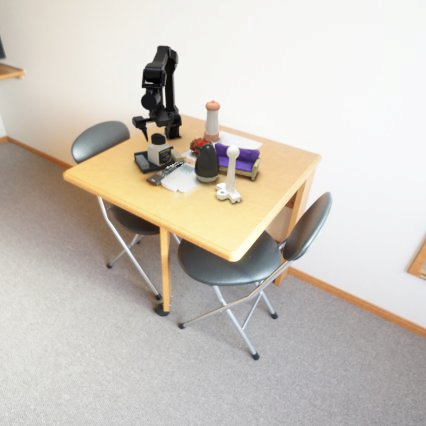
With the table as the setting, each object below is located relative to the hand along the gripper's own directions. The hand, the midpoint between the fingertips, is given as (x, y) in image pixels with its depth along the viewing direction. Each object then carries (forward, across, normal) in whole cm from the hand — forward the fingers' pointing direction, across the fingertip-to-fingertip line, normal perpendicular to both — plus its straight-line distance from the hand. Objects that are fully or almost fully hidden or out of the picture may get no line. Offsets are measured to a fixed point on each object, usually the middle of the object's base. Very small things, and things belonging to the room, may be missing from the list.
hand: (158, 139), depth 131 cm
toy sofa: (+12, +26, -18) cm, 34 cm away
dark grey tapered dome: (+12, +13, -19) cm, 26 cm away
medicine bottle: (+10, 0, 0) cm, 10 cm away
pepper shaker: (+11, +33, +15) cm, 38 cm away
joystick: (+12, +14, -33) cm, 38 cm away
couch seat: (+11, 0, +1) cm, 11 cm away
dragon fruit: (+12, +21, +2) cm, 24 cm away
